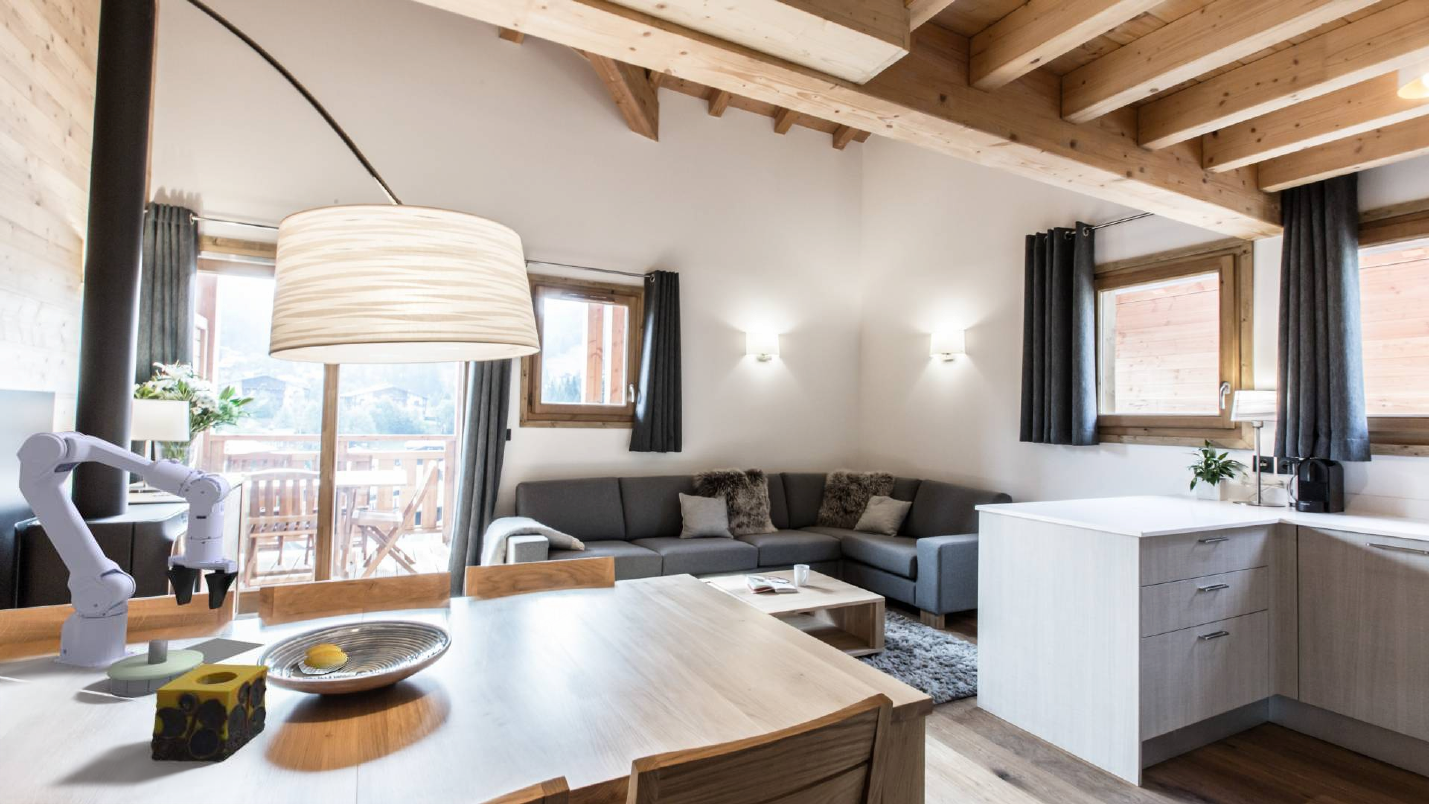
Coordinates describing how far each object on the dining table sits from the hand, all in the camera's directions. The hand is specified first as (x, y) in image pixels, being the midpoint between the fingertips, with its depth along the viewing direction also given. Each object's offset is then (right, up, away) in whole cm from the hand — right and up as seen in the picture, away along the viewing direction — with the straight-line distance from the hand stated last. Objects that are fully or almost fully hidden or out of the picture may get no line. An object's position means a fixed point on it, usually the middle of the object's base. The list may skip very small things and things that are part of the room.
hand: (199, 606), depth 134 cm
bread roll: (+26, -11, -3) cm, 29 cm away
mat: (+2, -10, +1) cm, 10 cm away
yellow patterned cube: (+28, -10, -35) cm, 46 cm away
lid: (+4, -6, -15) cm, 16 cm away
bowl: (+4, -9, -15) cm, 18 cm away
